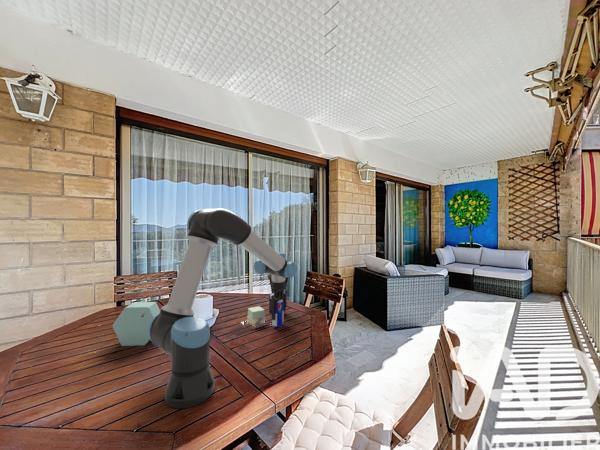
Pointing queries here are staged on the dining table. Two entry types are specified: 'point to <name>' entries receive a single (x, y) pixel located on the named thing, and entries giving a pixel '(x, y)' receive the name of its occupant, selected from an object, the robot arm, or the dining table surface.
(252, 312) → the block top
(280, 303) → the beverage can
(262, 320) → the block bottom
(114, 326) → the mint green hexagonal block
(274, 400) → the dining table surface
